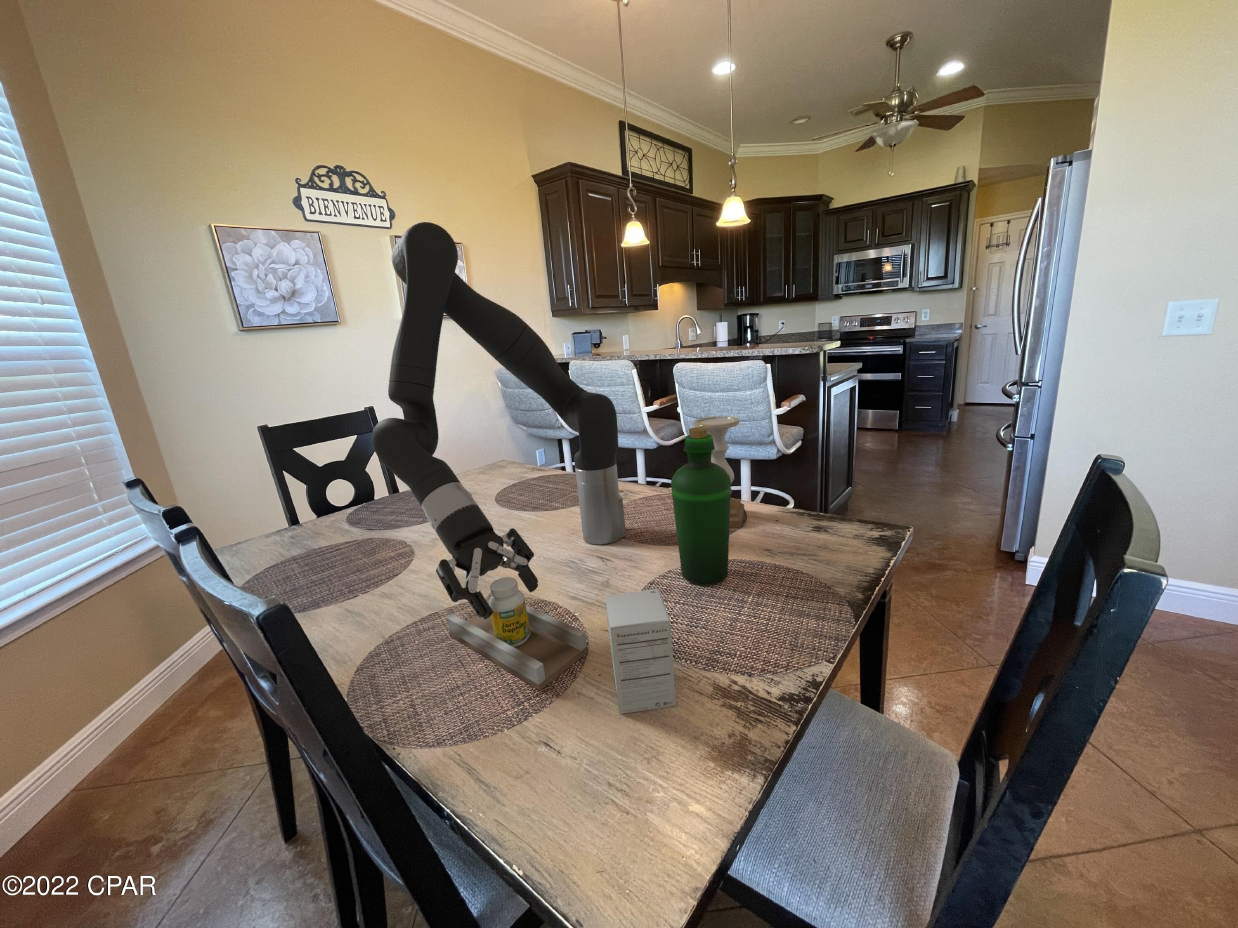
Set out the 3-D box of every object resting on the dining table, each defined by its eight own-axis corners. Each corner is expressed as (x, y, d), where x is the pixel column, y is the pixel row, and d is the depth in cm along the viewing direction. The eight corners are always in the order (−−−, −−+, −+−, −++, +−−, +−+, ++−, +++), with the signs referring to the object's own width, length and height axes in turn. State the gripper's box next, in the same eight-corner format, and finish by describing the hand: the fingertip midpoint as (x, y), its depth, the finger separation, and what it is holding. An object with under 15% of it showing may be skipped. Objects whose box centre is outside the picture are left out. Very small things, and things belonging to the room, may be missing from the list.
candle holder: (741, 528, 108) (738, 425, 101) (692, 526, 112) (687, 426, 105) (744, 510, 118) (743, 415, 111) (700, 508, 121) (696, 416, 115)
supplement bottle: (522, 623, 78) (514, 570, 75) (536, 639, 73) (527, 583, 71) (490, 637, 75) (480, 582, 72) (502, 654, 70) (492, 596, 68)
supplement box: (613, 674, 66) (604, 593, 62) (666, 667, 66) (660, 586, 63) (618, 716, 59) (608, 626, 55) (677, 707, 59) (671, 618, 56)
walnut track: (450, 636, 78) (446, 617, 77) (497, 608, 85) (494, 590, 84) (539, 690, 64) (536, 668, 63) (587, 652, 71) (585, 631, 70)
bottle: (739, 565, 92) (736, 422, 84) (726, 594, 82) (722, 436, 75) (685, 558, 96) (678, 422, 89) (668, 585, 87) (658, 435, 79)
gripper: (419, 521, 68) (480, 615, 64) (501, 490, 78) (557, 570, 74) (409, 546, 73) (465, 636, 69) (487, 515, 83) (539, 591, 79)
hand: (513, 602), depth 71 cm, fingers open, 8 cm apart
